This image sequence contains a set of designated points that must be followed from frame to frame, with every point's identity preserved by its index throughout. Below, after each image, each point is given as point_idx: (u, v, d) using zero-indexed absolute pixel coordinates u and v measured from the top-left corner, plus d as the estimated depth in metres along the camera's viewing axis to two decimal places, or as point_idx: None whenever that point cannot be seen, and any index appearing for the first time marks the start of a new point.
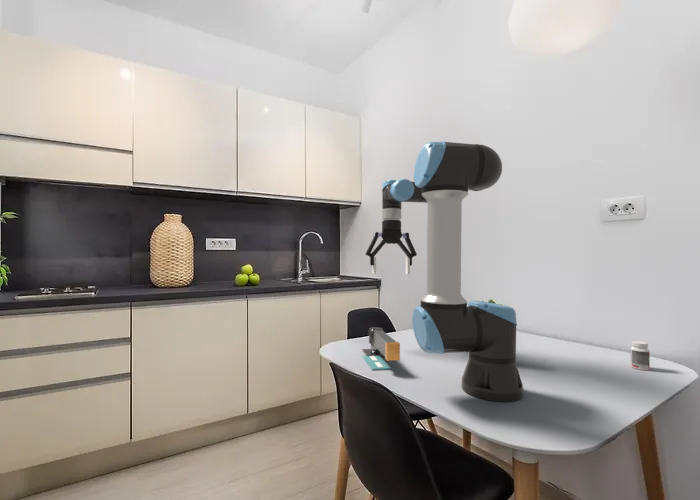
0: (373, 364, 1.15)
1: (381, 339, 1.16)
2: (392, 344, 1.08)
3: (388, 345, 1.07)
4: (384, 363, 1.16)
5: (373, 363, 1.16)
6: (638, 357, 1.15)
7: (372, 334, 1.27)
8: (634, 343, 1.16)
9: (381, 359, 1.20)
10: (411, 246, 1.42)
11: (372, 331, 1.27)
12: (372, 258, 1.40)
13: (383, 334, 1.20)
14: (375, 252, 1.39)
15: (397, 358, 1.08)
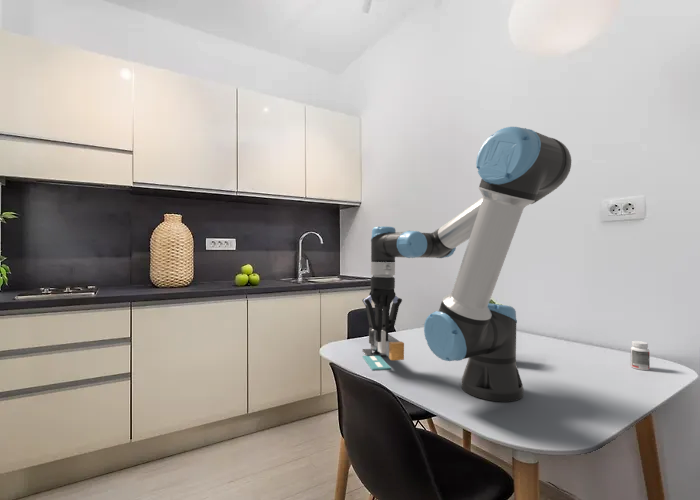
0: (373, 364, 1.15)
1: None
2: (396, 344, 1.08)
3: (392, 345, 1.08)
4: (384, 363, 1.16)
5: (373, 363, 1.16)
6: (638, 357, 1.15)
7: (372, 334, 1.27)
8: (634, 343, 1.16)
9: (381, 359, 1.20)
10: None
11: (372, 331, 1.27)
12: None
13: None
14: None
15: (401, 358, 1.08)
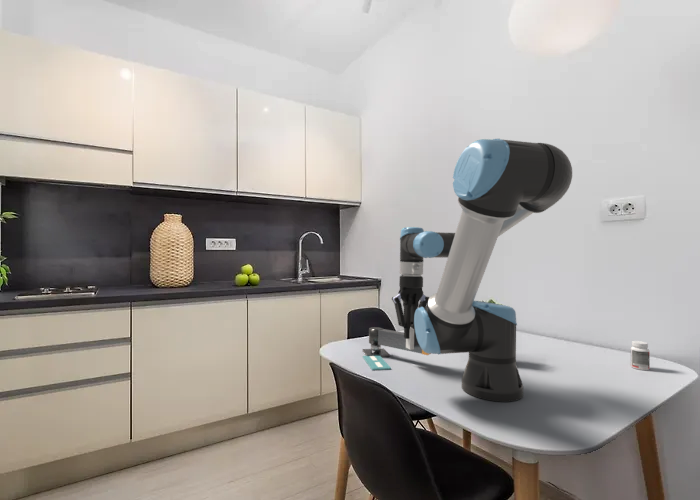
0: (373, 364, 1.15)
1: None
2: None
3: None
4: (384, 363, 1.16)
5: (373, 363, 1.16)
6: (638, 357, 1.15)
7: (377, 334, 1.26)
8: (634, 343, 1.16)
9: (381, 359, 1.20)
10: None
11: (377, 331, 1.26)
12: None
13: (398, 332, 1.23)
14: None
15: None
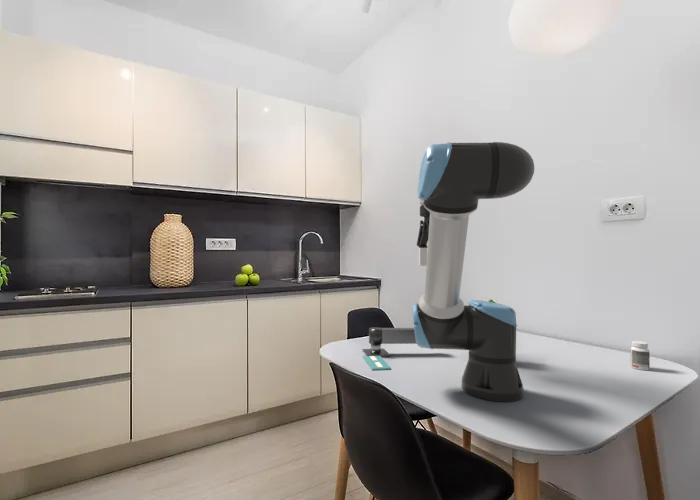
0: (373, 364, 1.15)
1: (413, 331, 1.28)
2: None
3: None
4: (384, 363, 1.16)
5: (373, 363, 1.16)
6: (638, 357, 1.15)
7: (382, 334, 1.27)
8: (634, 343, 1.16)
9: (381, 359, 1.20)
10: None
11: (382, 331, 1.27)
12: None
13: (401, 328, 1.30)
14: (420, 242, 1.31)
15: None
